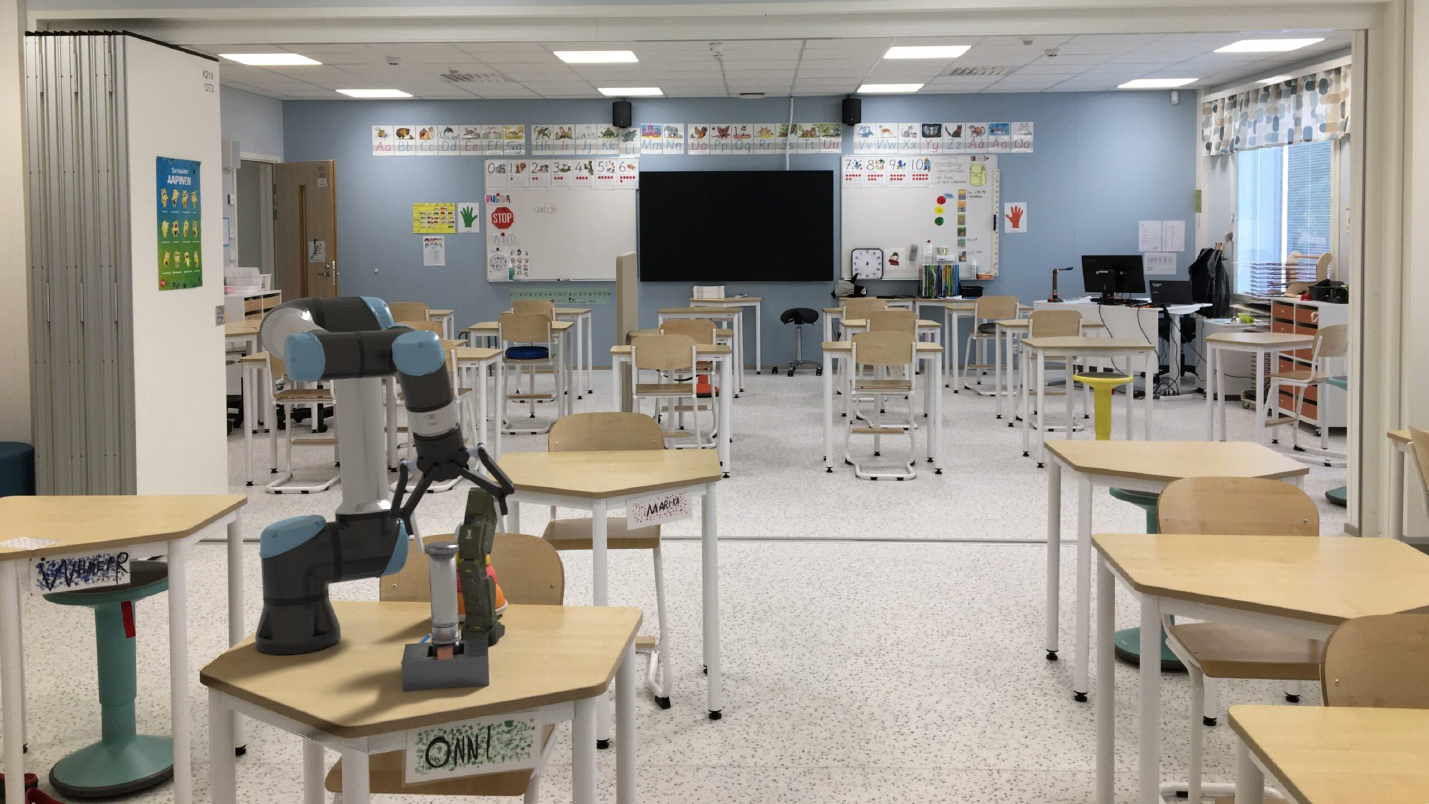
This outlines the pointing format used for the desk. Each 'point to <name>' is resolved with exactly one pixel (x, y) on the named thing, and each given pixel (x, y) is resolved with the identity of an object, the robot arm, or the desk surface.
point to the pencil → (425, 639)
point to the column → (443, 595)
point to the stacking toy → (500, 601)
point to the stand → (445, 666)
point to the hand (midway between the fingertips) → (462, 540)
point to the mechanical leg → (478, 568)
